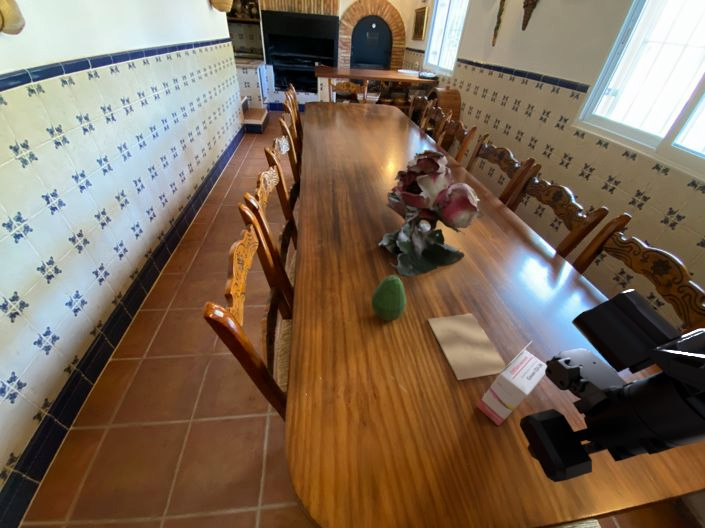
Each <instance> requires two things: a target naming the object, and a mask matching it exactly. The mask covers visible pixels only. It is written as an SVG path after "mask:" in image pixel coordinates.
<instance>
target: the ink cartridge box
mask: <svg viewBox="0 0 705 528" xmlns="http://www.w3.org/2000/svg"><path fill="white" fill-rule="evenodd" d="M532 343H533V340H531V341H530V342H528V343H527V344H526V345H525V346H524V348H522V350H520V351H519V353H518V354H517V355H515V357H514V358H513V359H512V360H511V361H510V362H509V363H508V364H506V367H505V368H504V369H503V370H502V371H501V373H500V374H497V376H496V378H495V379H494V381H493V382H492V383H491V385H490V387H489V388H488V389H487V390H486V392H485V394H484V395H483V396H482V398H481V399H480V401H479V402H478V404H476V407H477V408H478V409H479V410H480V411H481V412H483V414H485V415H486V416H487V417H488V418H489V419H490V420H491V421H492V422H493V423H494V424H495V425H496V426H498V427H499V426H500V425H501V424H502V423H504V421H505V420H506V419H507V418H508V417H509V416H510V415H511V413H512V412H513V411H514V410H516V408H517V407H518V406H519V405H520V404H521V403H522V402H523V401H524V400H525V399H526V398H527V397H528V396H529V395H530V394H531V393H532V391H533V390H534V389H535V388H536V387H537V385H538V384H539V383H540V382H541V380H542V379H543V378H544V376H546V374H545V370H546V368H547V365H546V363H545V362H543V361H542V360H540V359H539V358H537V357H536V356H535V355H533V354H532V353H531V352H529V351H528V350H527V348H528V347H529V346H530V345H531V344H532Z"/></svg>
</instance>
